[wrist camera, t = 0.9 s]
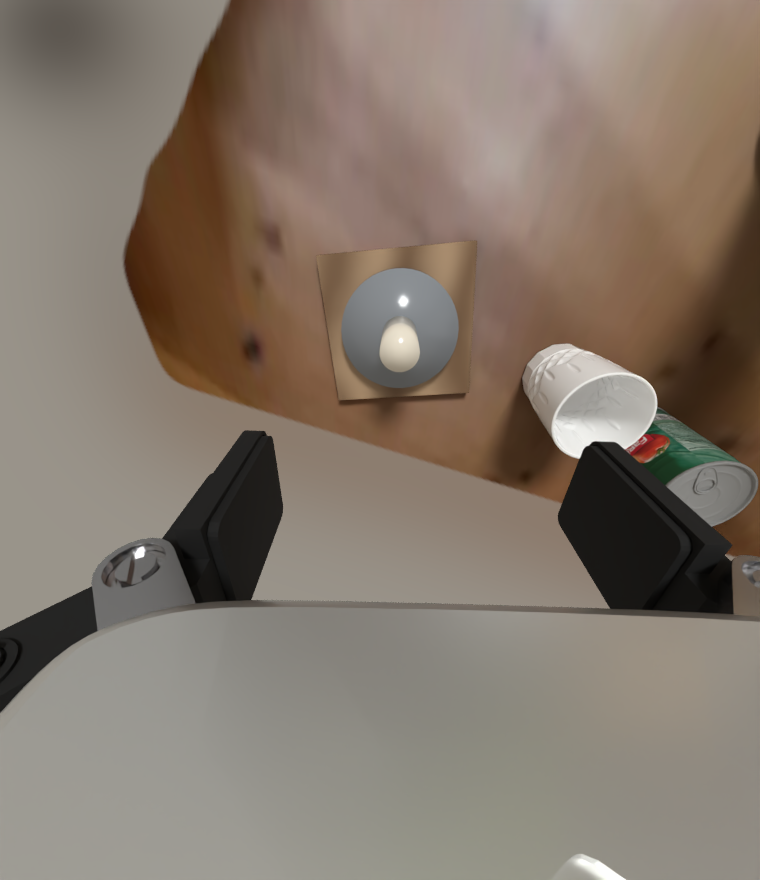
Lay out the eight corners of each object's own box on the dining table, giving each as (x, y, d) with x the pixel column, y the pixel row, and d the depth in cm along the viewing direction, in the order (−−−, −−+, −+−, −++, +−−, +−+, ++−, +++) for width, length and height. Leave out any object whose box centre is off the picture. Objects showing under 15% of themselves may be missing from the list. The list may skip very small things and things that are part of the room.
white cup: (552, 420, 39) (595, 474, 30) (500, 384, 37) (530, 430, 28) (611, 364, 35) (679, 407, 27) (557, 321, 33) (612, 352, 25)
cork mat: (475, 240, 30) (477, 240, 29) (467, 388, 37) (468, 392, 36) (318, 255, 31) (315, 255, 30) (340, 396, 38) (338, 400, 38)
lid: (458, 262, 30) (474, 270, 24) (455, 380, 36) (466, 411, 30) (335, 273, 31) (319, 283, 25) (350, 386, 37) (341, 418, 31)
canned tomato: (668, 453, 40) (750, 521, 31) (597, 470, 42) (654, 539, 33) (673, 395, 37) (767, 451, 27) (593, 416, 38) (657, 476, 29)
